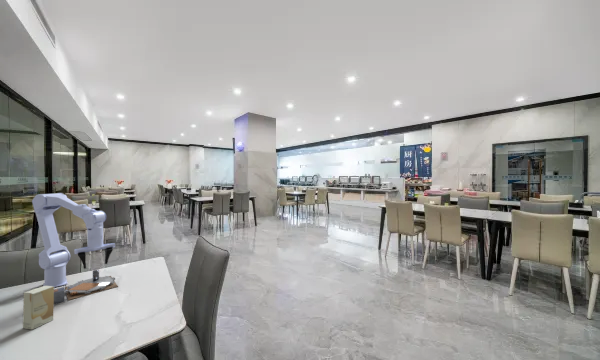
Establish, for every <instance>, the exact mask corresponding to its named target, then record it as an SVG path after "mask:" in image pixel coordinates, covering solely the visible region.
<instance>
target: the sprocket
mask: <svg viewBox="0 0 600 360" xmlns="http://www.w3.org/2000/svg"><path fill="white" fill-rule="evenodd" d="M109 276H110V275H105V276H100V269H94V270H92V278H91V277H90V278H88V279H84V280H83V279H82V280H80V281H77V282H75V283H74V284H73V283H72V284H70V285H67V286H68V287H67V290H66V289H64V294H66V293H70V294H71V295H76V294H83V293H85V294H87V293H91V292H93V291H97V290H102V289H105V288H106V287H107V286H109V285H112V284H114V281H116V277H115V276H113V277H112V276H111V277H112V278H111V277H109Z"/></svg>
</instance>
